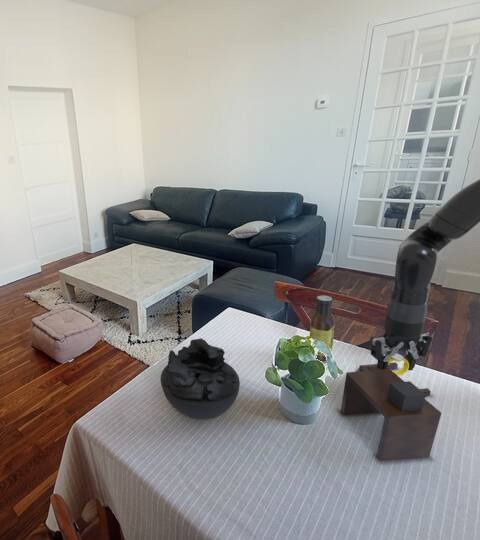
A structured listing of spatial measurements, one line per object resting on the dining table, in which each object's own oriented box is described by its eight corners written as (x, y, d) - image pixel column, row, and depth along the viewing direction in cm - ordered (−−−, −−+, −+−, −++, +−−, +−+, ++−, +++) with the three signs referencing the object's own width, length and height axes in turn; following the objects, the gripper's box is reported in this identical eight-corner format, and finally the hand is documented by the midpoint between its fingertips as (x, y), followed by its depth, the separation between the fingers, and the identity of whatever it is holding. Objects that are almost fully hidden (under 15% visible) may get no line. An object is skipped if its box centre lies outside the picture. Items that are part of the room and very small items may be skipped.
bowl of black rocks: (243, 391, 95) (244, 333, 88) (234, 447, 78) (234, 381, 72) (174, 377, 103) (170, 324, 97) (152, 426, 87) (146, 365, 80)
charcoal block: (406, 396, 71) (409, 381, 70) (421, 410, 68) (425, 394, 66) (386, 398, 72) (389, 382, 70) (401, 412, 68) (404, 396, 66)
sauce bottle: (334, 361, 102) (342, 303, 95) (312, 361, 103) (318, 303, 96) (325, 349, 108) (332, 293, 101) (304, 349, 109) (309, 294, 102)
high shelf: (381, 408, 84) (389, 368, 80) (429, 457, 71) (441, 413, 67) (340, 411, 84) (346, 372, 80) (380, 461, 71) (389, 416, 67)
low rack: (394, 366, 97) (395, 362, 97) (429, 395, 86) (431, 390, 85) (358, 369, 98) (359, 365, 97) (389, 398, 86) (390, 394, 86)
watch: (402, 370, 92) (405, 352, 90) (409, 377, 90) (413, 358, 88) (378, 371, 93) (381, 353, 91) (385, 378, 90) (388, 360, 88)
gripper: (386, 325, 82) (376, 381, 88) (448, 319, 81) (434, 376, 87) (366, 310, 89) (358, 363, 95) (423, 305, 88) (412, 358, 94)
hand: (395, 369), depth 91 cm, fingers closed on watch, 6 cm apart
